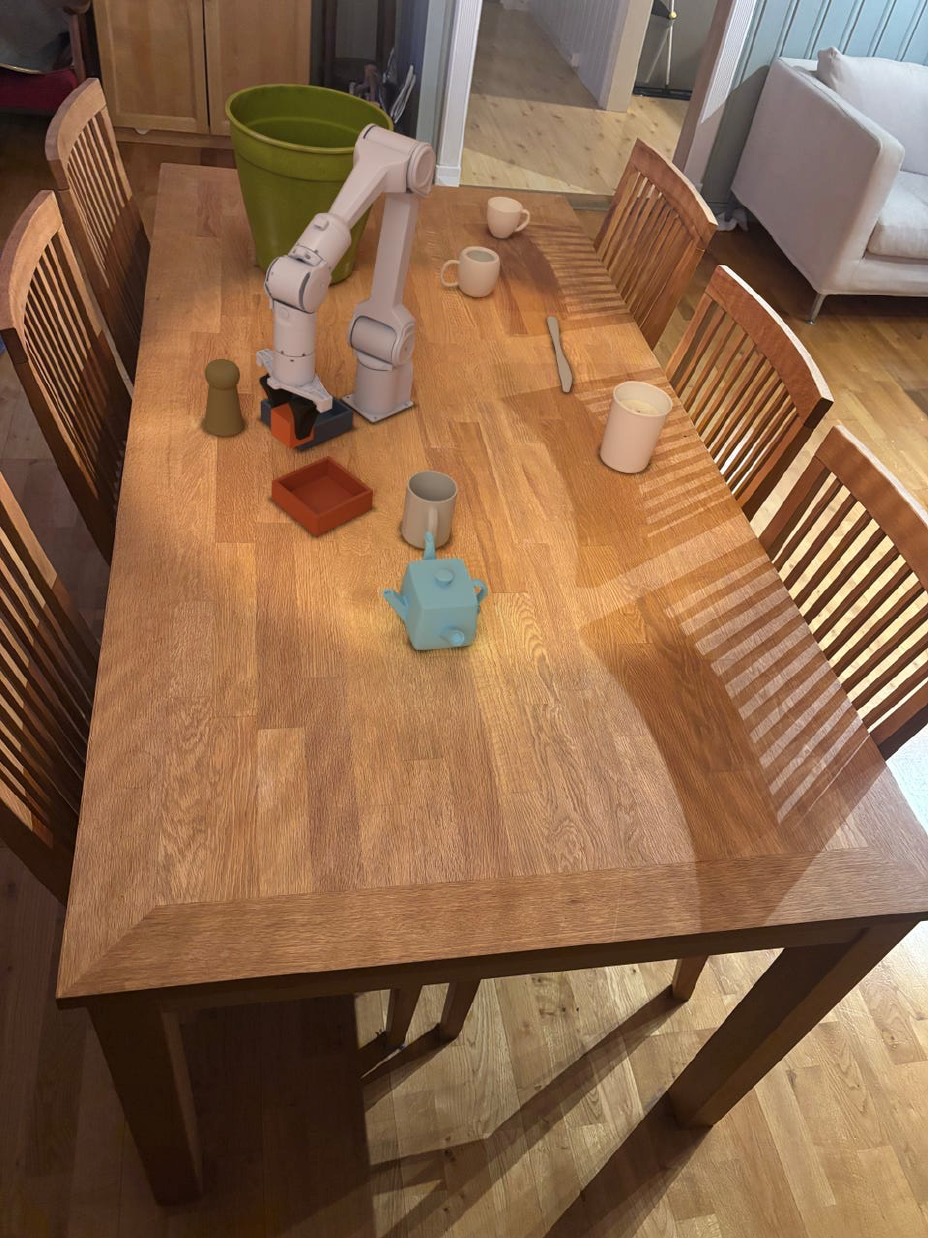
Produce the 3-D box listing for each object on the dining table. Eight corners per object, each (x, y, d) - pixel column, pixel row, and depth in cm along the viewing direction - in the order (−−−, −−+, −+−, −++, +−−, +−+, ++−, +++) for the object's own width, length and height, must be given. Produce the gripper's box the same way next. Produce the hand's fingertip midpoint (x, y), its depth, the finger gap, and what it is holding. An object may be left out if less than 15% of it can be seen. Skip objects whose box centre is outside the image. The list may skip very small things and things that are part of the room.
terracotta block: (294, 424, 145) (295, 399, 142) (313, 439, 143) (314, 414, 140) (270, 434, 142) (270, 408, 139) (289, 449, 141) (290, 424, 137)
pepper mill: (235, 439, 152) (234, 378, 144) (198, 430, 152) (195, 369, 144) (249, 419, 156) (248, 358, 148) (213, 410, 156) (210, 349, 148)
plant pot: (211, 235, 197) (206, 82, 177) (349, 228, 209) (359, 84, 188) (254, 309, 180) (253, 149, 159) (402, 296, 191) (418, 146, 171)
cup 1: (447, 519, 146) (456, 472, 139) (452, 565, 139) (461, 517, 133) (399, 516, 145) (406, 468, 138) (401, 562, 138) (408, 513, 131)
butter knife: (561, 316, 194) (546, 313, 193) (575, 393, 175) (559, 390, 175) (560, 319, 194) (546, 316, 194) (574, 395, 176) (558, 393, 175)
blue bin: (312, 398, 162) (313, 380, 160) (352, 428, 158) (353, 410, 156) (260, 419, 156) (260, 400, 154) (300, 451, 152) (301, 432, 150)
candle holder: (658, 454, 166) (680, 394, 158) (642, 483, 159) (663, 422, 151) (605, 434, 168) (624, 373, 160) (587, 462, 161) (605, 400, 153)
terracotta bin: (327, 473, 149) (328, 455, 147) (371, 508, 145) (373, 490, 142) (271, 499, 143) (271, 480, 140) (316, 536, 139) (317, 518, 136)
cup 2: (480, 224, 220) (485, 195, 215) (522, 228, 222) (528, 198, 217) (486, 240, 214) (491, 210, 210) (529, 243, 217) (535, 214, 212)
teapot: (496, 674, 126) (510, 620, 118) (390, 684, 122) (398, 629, 115) (462, 578, 137) (473, 523, 130) (364, 584, 133) (370, 529, 126)
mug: (489, 281, 201) (496, 244, 196) (499, 302, 196) (506, 265, 190) (433, 279, 198) (438, 242, 192) (441, 300, 192) (447, 263, 187)
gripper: (237, 329, 133) (239, 413, 142) (305, 379, 127) (302, 463, 136) (279, 316, 137) (278, 398, 146) (346, 364, 131) (340, 446, 140)
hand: (292, 428), depth 142 cm, fingers closed on terracotta block, 4 cm apart
